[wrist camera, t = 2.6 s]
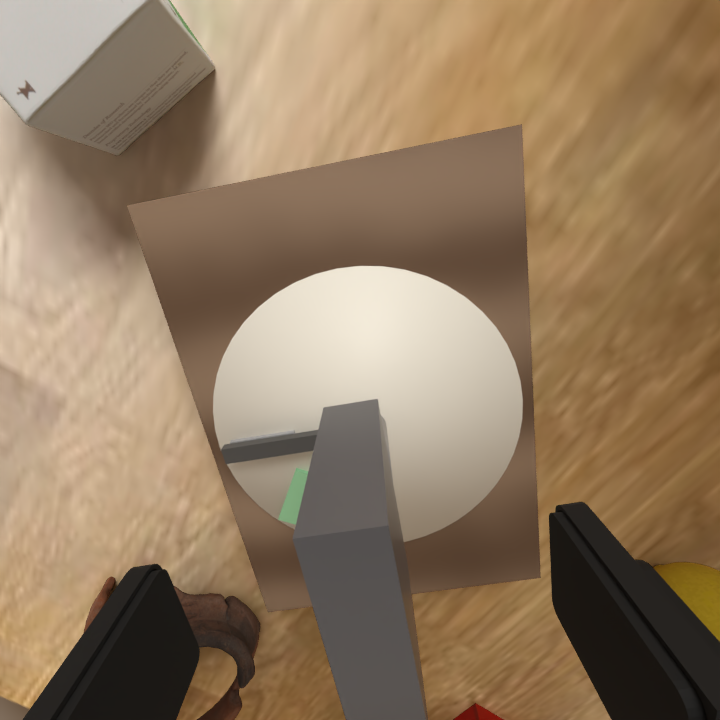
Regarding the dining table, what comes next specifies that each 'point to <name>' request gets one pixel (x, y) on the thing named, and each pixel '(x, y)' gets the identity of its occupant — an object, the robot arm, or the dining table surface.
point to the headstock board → (347, 249)
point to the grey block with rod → (354, 560)
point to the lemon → (696, 590)
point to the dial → (374, 388)
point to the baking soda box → (477, 714)
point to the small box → (96, 66)
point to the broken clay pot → (214, 637)
